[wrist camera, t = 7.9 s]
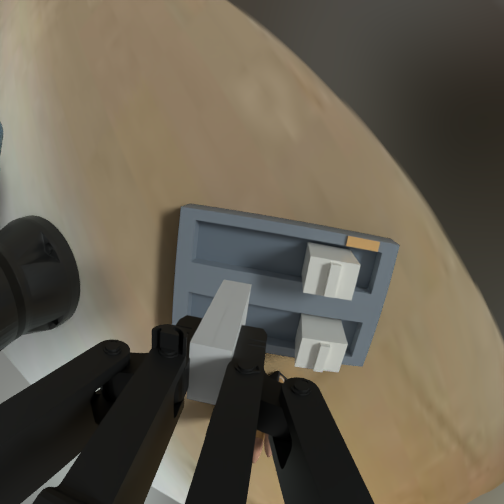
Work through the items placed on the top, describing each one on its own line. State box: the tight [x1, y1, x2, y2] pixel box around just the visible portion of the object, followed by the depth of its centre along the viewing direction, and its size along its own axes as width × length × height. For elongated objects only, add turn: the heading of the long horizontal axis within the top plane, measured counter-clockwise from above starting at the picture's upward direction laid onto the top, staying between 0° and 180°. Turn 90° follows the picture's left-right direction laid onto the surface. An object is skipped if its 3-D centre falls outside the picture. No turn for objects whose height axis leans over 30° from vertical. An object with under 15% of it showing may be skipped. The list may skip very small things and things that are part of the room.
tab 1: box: [302, 242, 361, 301], centre depth 26 cm, size 4×3×6 cm
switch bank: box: [172, 204, 399, 366], centre depth 30 cm, size 20×13×3 cm, turn 82°
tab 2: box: [295, 313, 348, 372], centre depth 28 cm, size 4×3×6 cm
